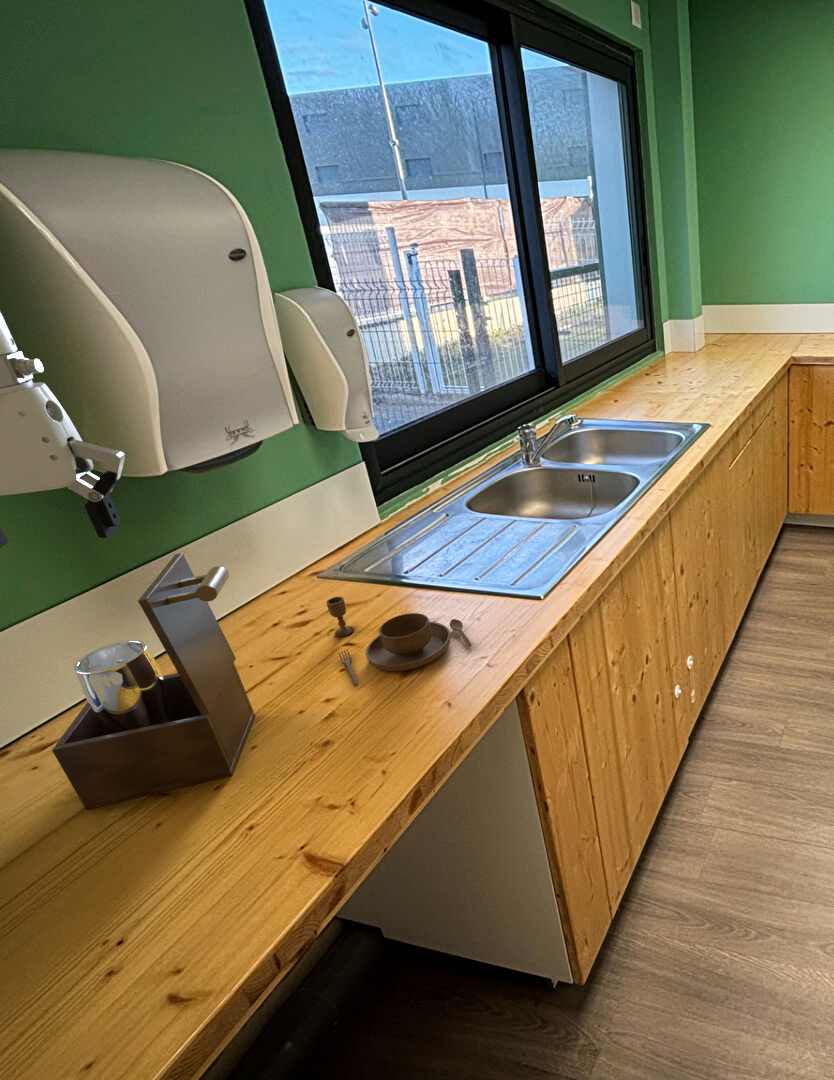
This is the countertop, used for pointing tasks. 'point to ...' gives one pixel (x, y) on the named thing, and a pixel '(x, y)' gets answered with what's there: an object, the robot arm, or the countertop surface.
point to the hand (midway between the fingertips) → (54, 540)
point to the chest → (157, 747)
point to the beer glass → (124, 686)
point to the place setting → (399, 640)
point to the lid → (190, 627)
